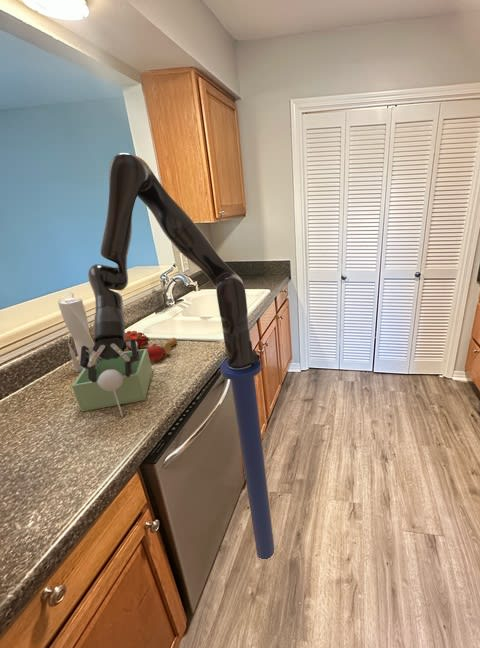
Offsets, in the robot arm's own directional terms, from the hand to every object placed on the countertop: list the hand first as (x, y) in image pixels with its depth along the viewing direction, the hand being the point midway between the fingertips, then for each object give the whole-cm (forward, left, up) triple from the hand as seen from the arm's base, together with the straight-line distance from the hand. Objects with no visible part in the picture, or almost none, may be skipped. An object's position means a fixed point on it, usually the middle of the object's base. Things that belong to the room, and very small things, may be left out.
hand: (111, 378), depth 88 cm
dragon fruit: (+4, -51, -13) cm, 52 cm away
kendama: (-8, -41, -13) cm, 44 cm away
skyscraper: (+19, -40, -13) cm, 46 cm away
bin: (+4, -17, -12) cm, 21 cm away
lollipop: (0, 0, -13) cm, 13 cm away
